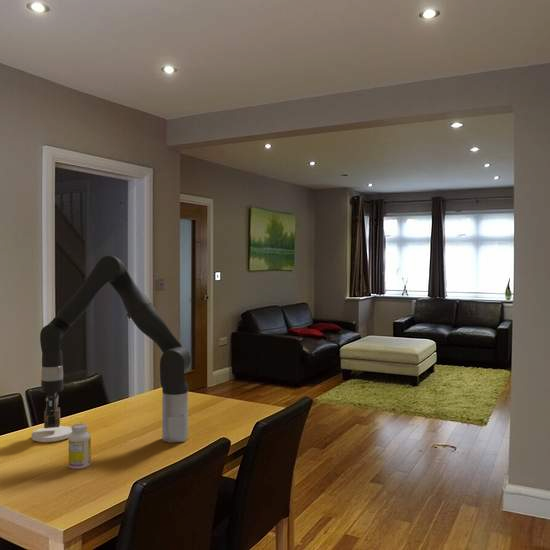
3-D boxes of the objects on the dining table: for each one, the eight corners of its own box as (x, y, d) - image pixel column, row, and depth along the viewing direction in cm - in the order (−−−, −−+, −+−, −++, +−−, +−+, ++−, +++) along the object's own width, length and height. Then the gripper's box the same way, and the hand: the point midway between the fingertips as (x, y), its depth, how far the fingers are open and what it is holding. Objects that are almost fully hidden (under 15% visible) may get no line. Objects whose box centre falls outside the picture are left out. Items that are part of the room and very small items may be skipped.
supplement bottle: (83, 460, 174) (83, 421, 174) (95, 465, 170) (95, 425, 170) (64, 466, 169) (64, 425, 169) (75, 471, 165) (75, 429, 164)
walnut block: (59, 427, 195) (58, 410, 195) (44, 428, 193) (44, 411, 193) (60, 423, 200) (60, 407, 200) (45, 424, 198) (45, 408, 198)
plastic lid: (72, 430, 206) (72, 424, 206) (73, 442, 193) (73, 435, 193) (32, 434, 201) (32, 428, 201) (30, 446, 188) (30, 439, 188)
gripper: (61, 381, 190) (61, 429, 191) (64, 373, 204) (64, 418, 204) (38, 382, 188) (38, 430, 189) (43, 374, 202) (43, 419, 202)
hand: (52, 423), depth 196 cm, fingers closed on walnut block, 5 cm apart
